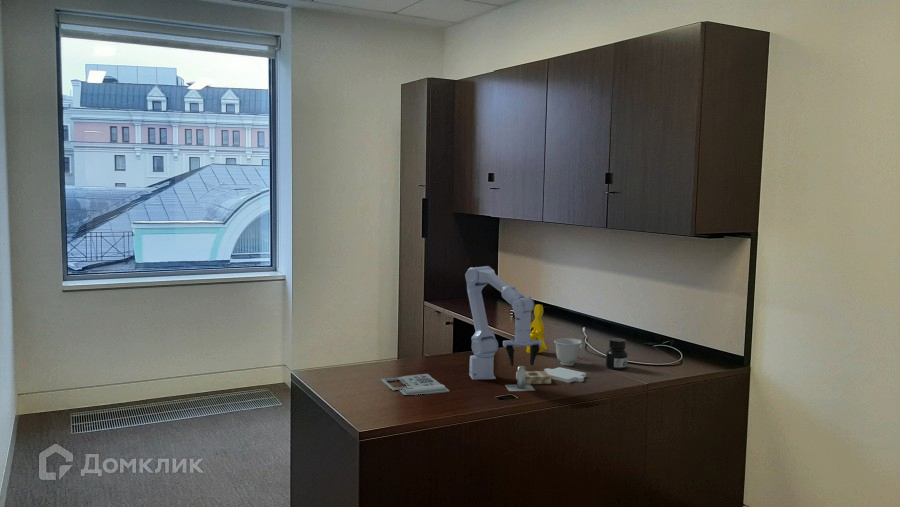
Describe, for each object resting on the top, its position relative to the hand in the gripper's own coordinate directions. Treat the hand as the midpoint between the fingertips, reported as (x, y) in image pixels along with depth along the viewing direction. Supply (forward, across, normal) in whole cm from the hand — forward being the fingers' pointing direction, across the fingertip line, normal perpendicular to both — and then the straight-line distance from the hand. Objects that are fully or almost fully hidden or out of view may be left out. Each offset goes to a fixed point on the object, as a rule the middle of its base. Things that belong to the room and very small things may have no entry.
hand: (521, 364), depth 266 cm
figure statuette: (+9, +20, +55) cm, 59 cm away
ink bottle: (+9, +48, +27) cm, 56 cm away
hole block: (+9, +7, +9) cm, 14 cm away
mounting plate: (+10, +21, +15) cm, 27 cm away
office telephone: (+10, -40, +7) cm, 42 cm away
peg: (+9, 0, 0) cm, 9 cm away
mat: (+9, 0, 0) cm, 9 cm away
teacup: (+9, +30, +35) cm, 47 cm away
